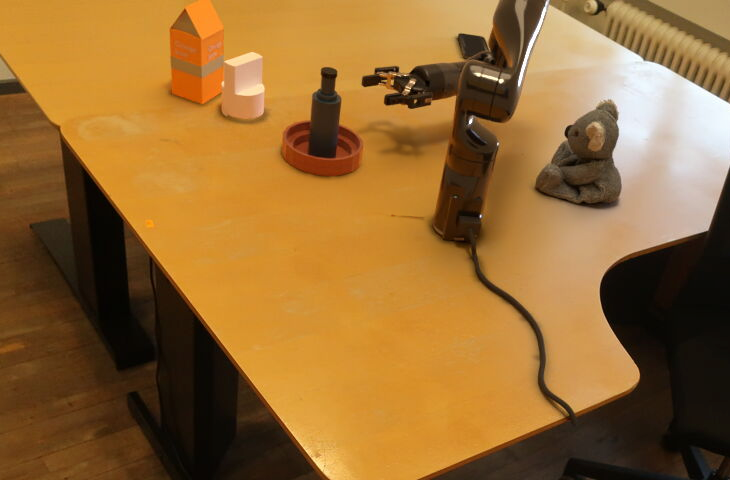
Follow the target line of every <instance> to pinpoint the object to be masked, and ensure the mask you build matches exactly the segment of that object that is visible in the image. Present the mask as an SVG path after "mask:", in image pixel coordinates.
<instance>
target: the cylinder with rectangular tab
mask: <svg viewBox="0 0 730 480" xmlns="http://www.w3.org/2000/svg"><path fill="white" fill-rule="evenodd" d="M263 59H264V57H263V56H262V55H261V54H259V53H257V52H254V51H251V52H248V53H244V54H242V55H238V56H235V57H232V58H230V59H226V60H224V81H223V82H222V92H221V113H222V114H223V115H224V117H227V118H228V116H230V117H233V118H237V119H242V120H243V119H247V120H248V119H256V118H259V117H261V116H262V115H263V114H264V111H265V92H266V91H265V89H266V87H265V85H264V84H263V65H264V64H263V63H264V62H263V61H264V60H263Z"/></svg>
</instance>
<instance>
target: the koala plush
mask: <svg viewBox="0 0 730 480" xmlns="http://www.w3.org/2000/svg"><path fill="white" fill-rule="evenodd" d="M619 115H620V111H619V110H618V106H617V105H616V103H615V101H614V100H612V99H610V98H608V99H607V100H605V99H603V100H600V102H599V103H598V104H597V105H596V106H595V109H593V110H590V111H588V112H587V113H585V114H583V115H582V116H580V117H579V118H577V120H575V122H574V123H573V124H569V125H567V126H566V127H565V129H564V137H565V138H566V140H563V141H562V142H561V143H560V145H559V146H558V147H557V149H556V151H555V152H554V153H553V155H552V157H551V161H550V163H547V164H546V165H545V166H544V167H543V168H542V170H540V172H539V174H538V175H537V177H536V180H535V188H536V189H538V190H539V191H540V192H542V193H545V194H547V195H548V196H551V197H555V198H559V199H563V200H567V201H569V202H571V203H573V204H580V203H582V202H584V203H586V204H597V203H599V202H601V203H606V204H607V203H608V204H610V203H614V202H616V200H617V199H618V198H619V197H620V196H621V193H622V189H623V183H622V177H621V174H620V172H619V169H618V167H616V165H615V161H614V157H613V153H614V151H615V149H616V147H617V143H618V140H619V136H620V129H619V128H620V127H619V125H618V121H619Z"/></svg>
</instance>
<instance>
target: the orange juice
mask: <svg viewBox="0 0 730 480" xmlns="http://www.w3.org/2000/svg"><path fill="white" fill-rule="evenodd" d="M224 31H225V26H224V25H223V23H222V21H221V19H220V17H219V15H218V13H217V11H216V10H215V8H214V6H213V3H212V2H211V0H197V1H195V2H192V3H190V4H188V5H186V6H184V9H183V10H182V11H181V13H180V14H179V16H178V17H177V18H176V19H175V21H174V22H173V23H172V25H171V26H170V27H169V47H170V48H169V49H170V56H169V57H170V73H171V74H170V75H171V93H172V95H174V96H178V97H181V98H183V99H186V100H189V101H192V102H194V103H198V104H200V105H204V104H206V103H207V102H209V101H210V100H212V99H213V98H215V97H216V96H218V95H219V94H222V82H223V81H224V61H225V53H224V52H225V49H224V48H225V46H224V45H225V41H224V40H225V39H224V38H225V36H224V35H225V34H224V33H225V32H224Z"/></svg>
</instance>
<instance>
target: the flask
mask: <svg viewBox="0 0 730 480" xmlns="http://www.w3.org/2000/svg"><path fill="white" fill-rule="evenodd" d="M320 77H321V78H320V88H318V89H317V90H316V91H314V92H313V93H312V95H311V105H310V132H309V145H308V155H311V156H315V157H321V158H336V150H337V140H338V130H339V124H340V120H341V119H340V118H341V109H342V97H341V95H340V94H338V92H337V90H336V82H337V78H338V70H337V69H336V68H334V67H331V66H324V67H322V68H320Z"/></svg>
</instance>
